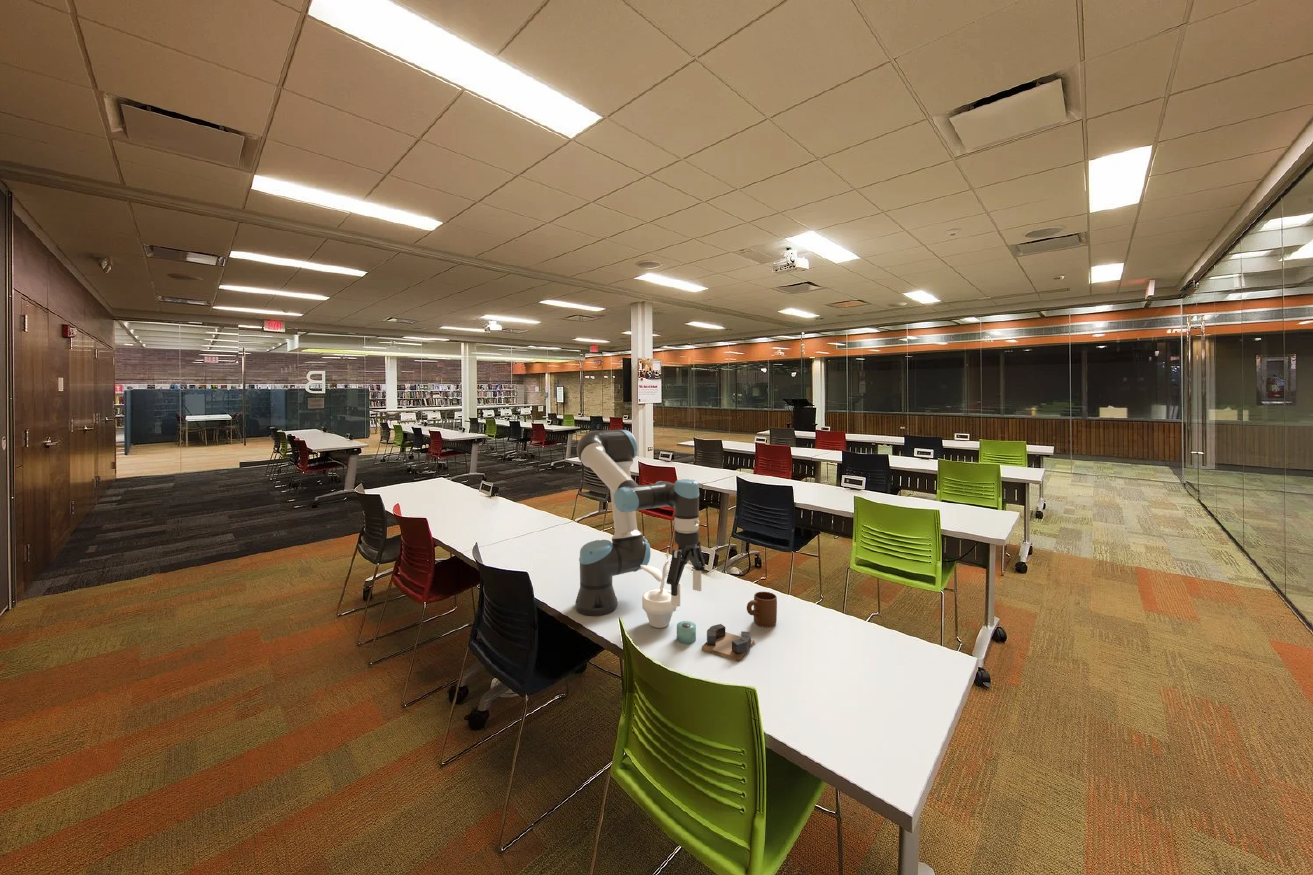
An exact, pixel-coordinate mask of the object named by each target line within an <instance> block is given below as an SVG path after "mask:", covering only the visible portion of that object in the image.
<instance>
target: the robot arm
mask: <svg viewBox="0 0 1313 875" xmlns="http://www.w3.org/2000/svg"><path fill="white" fill-rule="evenodd" d="M637 442H638V441H637V440H636V438H635V436H634V434H633V433H632V432H631V431H629V430H627V429H608V430H592V431H588V432H586V433H585V434H584V435H583V436H581V437H580V439H579V441H578V443H577V445H576V455H577V458H578V460H579V461H580V462H581V464H583V466H585V467H586V468H590V469H591V471H593V472H594V474H596V475H597V477H598V478H599V479H600V481H602V482H603V483H604V485H605V486H607V488H608V489H609V492H610V493H609V494H610V501H611V510H612V519H613V526H614V534H613V535H612V536H611V541H610V540H608V539H601V540H600V539H597V540H591V541H589V542H587V543H585V544H584V545H582V546H581V548H580V550H579V558H578V561H579V589H578V592H577V596H576V599H575V601H574V602H575V603H574V604H575V608H574V609H575V611H576V612H578V613H579V614H582V615H584V616H602V615H603V616H604V615H608V614H611V613H612V612H614V611H615V610H616V609H617V608H618V598H617V596H616V593H615V590H614V586H613V577H615V576H618V575H624V574H628V573H632V572H634V573H635V572H638V571H641V570H643V569H642V568H641V566H640V565H647V566H649V563H650V560H651V551H652V550H651V545H650V543H649V541H648V539H647V538H644V537H643V533H642V532H641V531H639V529H638V523H637V515H636V511H640V510H641V511H642V510H647V509H648V510H650V509H656V508H664V507H669V508H672V509H674V525H673V526H674V530H675V531H674V542H675V544H677V546H678V548H677V549H676V550H675V549H673V550H672V551H671V558H672V560H671V559H670V560H671V561H670V564H669V571H668V575H667V577H666V584H667V585H670V591H671V605H675V606H677V607H681V584H680V581H681V578H682V575H683V571H684V569H685V566H686V565H687V564H688V562H689V561H690V564H692V567H693V569H692V591H693V590H694V591H695V592H696V591H697V592H702V571H705V569H706V568H705V566H706V562H705V559H704V555H703V554H704V553H703V552H702V547H701V540H700V532H699V529H700V494H701V493H700V489H699V488H700V486H699V482H698V481H697V480H695V479H688V478H687V479H678V480H676V481H675V482H670V481H668V480H667V481H665V480H664V481H662V480H659V481H656V482H655V483H652V484H651V483H650V484H644V485H643V484H642V485H641V484H640V485H639V484H638V483H637V482H636V481H635V480H634V479H633V478H632V476H631V473H632V472H631V466H632V465H633V464H634V459H635V458H636V457H637V455H638V443H637Z"/></svg>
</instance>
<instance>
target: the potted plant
mask: <svg viewBox="0 0 1313 875" xmlns="http://www.w3.org/2000/svg"><path fill="white" fill-rule="evenodd" d="M663 555H664V556H665V557H666V561H665V563H664V565H663V567H662V571H661V570H660V569H659V568H657V567H654V566H651V565H640V566H641V568H642V569H641V570H643V571H645V572H647V573H649V574H650V575H651V576H652V577H653V578H654V579H655V580H656V581H658V582H660V588H657V589H656V588H655V589H651V590H650V589H649V590H648V591H646V592H643V594H642V598H641V602H642V603H641V604H642V605H641V606H642V610H643V611H644V612H645V613H646V616H647V620H648V622H649V624H650V626H651V627H653V628H657V629H661V628H662V629H663V628H666V627H667V626H669V625H670V622H671V619H672V616H673V613H674V612H675V611H677V607H678V606H675V605H671V590H669V589H666V588H664V587H665V584H666V581H665V579H667V577H668V573H669V568H670V565H669V563H671V560H672V557H671V559H670V560H668V559H669V557H670V556H671V553H669V549H667V551H666V553H664V554H663Z"/></svg>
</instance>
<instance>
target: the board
mask: <svg viewBox="0 0 1313 875" xmlns="http://www.w3.org/2000/svg"><path fill="white" fill-rule="evenodd" d="M740 638H741V635H737V634H733V633H730V632H726V631H725V637H721V638H718V639H717V640H716V646H707V641H706V642H705V643H704V644H703V645H701V650H702V651H705V652H708V653H711V654H715V655H718V656H721V657H724V658H727V659H730V660H734V661H737V662H740V661H742V660H741V659H743V657H745V655H746V654H747V653H748V652H749V650H750V649H751V648H752V647H753V646H754V645H755V642H756V641H755V639H751V647H750V648H749V650H748V651H747V652H745V653H741V654H738V655H737V654H735V653H734V652H733V651H732V641H733V640H737V639H740Z"/></svg>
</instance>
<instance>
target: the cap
mask: <svg viewBox="0 0 1313 875" xmlns="http://www.w3.org/2000/svg"><path fill="white" fill-rule="evenodd" d="M676 641H677V642H678V643H680V644H682V645H690V644H694V643H695V642H696V641H697V625H696V623H694V622H692V621H688V620H685V621H679V622H678V623H676Z"/></svg>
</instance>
